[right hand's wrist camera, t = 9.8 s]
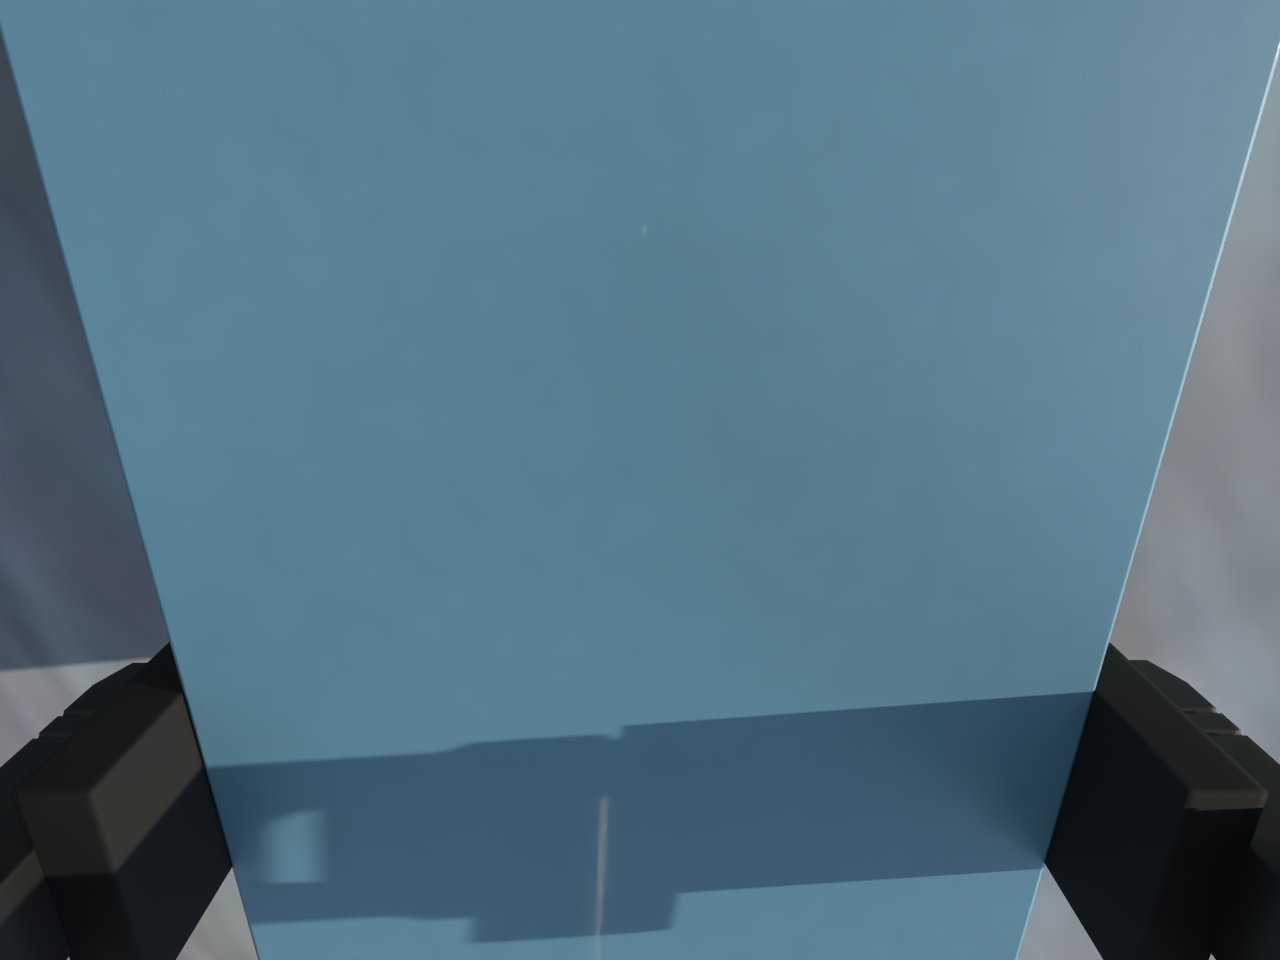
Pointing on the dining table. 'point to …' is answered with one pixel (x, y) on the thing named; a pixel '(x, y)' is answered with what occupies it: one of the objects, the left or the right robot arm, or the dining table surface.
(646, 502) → the cabinet
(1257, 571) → the dining table surface
